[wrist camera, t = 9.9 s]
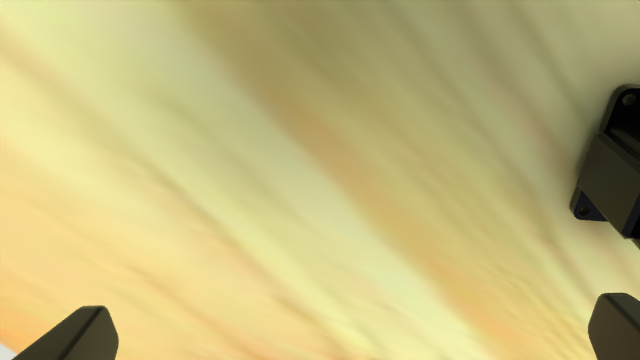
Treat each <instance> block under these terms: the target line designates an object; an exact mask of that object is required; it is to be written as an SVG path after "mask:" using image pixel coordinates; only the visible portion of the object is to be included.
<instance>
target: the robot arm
mask: <svg viewBox="0 0 640 360" xmlns="http://www.w3.org/2000/svg"><path fill="white" fill-rule="evenodd" d="M628 94H631V96H630V98H629V99H628V100H627V101H625V102H623V98H624V97H625V96H626V95H628ZM577 185H578V187H577V190H576V192H575V195H574V197H573V200H572V203H571V205H570V211H571V213H572V214H573V215H574V217H576V218H577V219H580V220H591V221H607V222H610V224H611V225H612V226H613V227H614V228H615V229H616V230H617V232H618V233H619V234H620V235H621V236H622V237H623V238H624V239H631V240H632V242H633V243H634V244H635V245H636V246H637V247H638V248H639V249H640V85H623V86H621V87H619V88H618V89H617V90H615V91H614V93H613V95H612V97H611V100H610V102H609V105H608V108H607V110H606V113H605V116H604V118H603V121H602V123H601V126H600V129H599V131H598V133H597V134H596V135H595V136H594V138H593V141H592V143H591V146H590V149H589V151H588V154H587V157H586V159H585V162H584V165H583V167H582V170H581V172H580V175H579V178H578V180H577ZM583 207H586V208H585V209H584V210H582V211H579V210H580V209H581V208H583ZM588 334H589V338H590V341H591V344H592V346H593V349H594V352H595V354H596V357H597V359H598V360H640V301H639V300H637V299H636V298H634V297H632V296H631V295H629V294H626V293H604V294H601V295H600V296H599V297H598V299H597V302H596V304H595V307H594V310H593V313H592V316H591V318H590V321H589V324H588ZM118 343H119V339H118V334H117V331H116V329H115V326H114V324H113V321H112V318H111V316H110V313H109V311H108V309H107V308H106V307H105V306H102V305H99V306H83V307H80V308H79V309H77V310H76V311H75V312H73V313H72V314H71V315H69V316H68V317H67V318H65V319H64V320H63V321H62V322H60V323H59V324H58V325H56V326H55V327H54V328H52V329H51V330H50V331H48V332H47V333H46V334H44V335H43V336H42V337H41V338H39V339H38V340H37V341H35V342H34V343H33V344H31V345H30V346H29V347H27V348H26V349H25V350H24V351H22V352H21V353H20V354H18V355H17V356H16V357H14V358H13V359H12V360H115V357H116V353H117V349H118Z"/></svg>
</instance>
